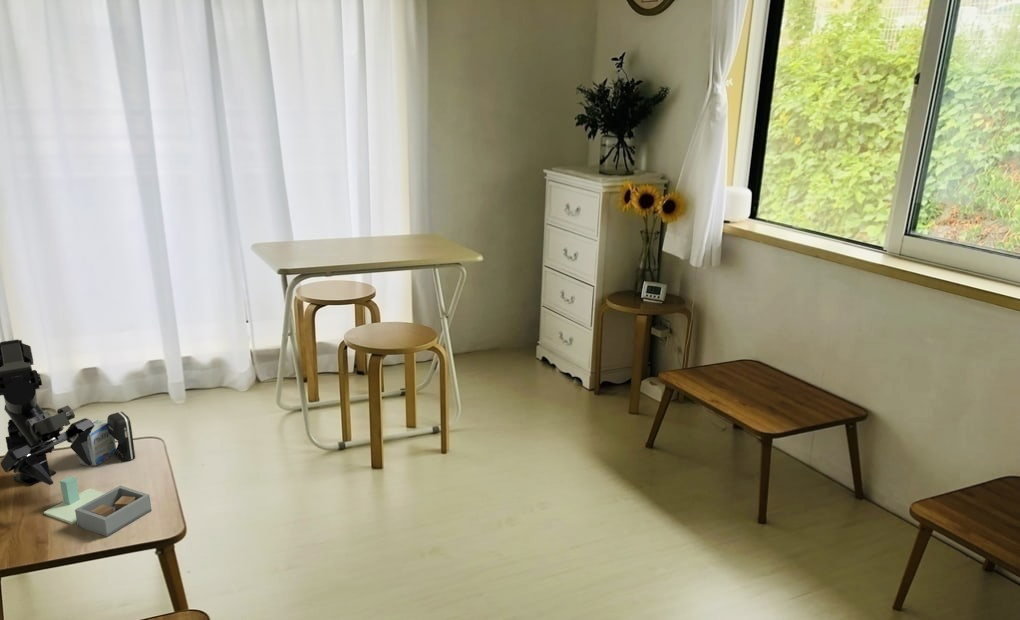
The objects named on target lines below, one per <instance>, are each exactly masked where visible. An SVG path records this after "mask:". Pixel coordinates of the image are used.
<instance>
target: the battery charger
mask: <svg viewBox="0 0 1020 620" xmlns="http://www.w3.org/2000/svg"><path fill="white" fill-rule="evenodd" d="M106 421H107V424H108V432H109V433H110V435H112V436H113V437H114V438H115V441H117V445H116V451H115V453H114V455H115V456H116V457H117V458H118V459H119V460H120V461H121V462H126V461H132V460H134V459H135V458H136V453H135V444H134V437H133V436H134V435H133V431H132V430H133V429H132V423H131V420H130V417H129V416H128V415H127V414H125V412H123V411H117V412H115V413H111V414H109V415H108V416H107V419H106Z"/></svg>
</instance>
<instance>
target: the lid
mask: <svg viewBox="0 0 1020 620" xmlns="http://www.w3.org/2000/svg"><path fill="white" fill-rule="evenodd" d="M59 484H60V489H61V495H62V500H63V501H62V502H61V503H58V504H56V505H54V506H52V507H50V508H48V509H47V510H45V511H43V514H44V515H45V514H46V516H48V517H51V518H53V519H56V520H59V521H62V522H65V523H68V524H70V525H74V524H76V523H77V519H76V513H75V509H77V508H79V507H81V506H83V505H85V504H86V503H88V502H90V501H92V500H94V499H96V498H98V497H100V496H101V495H103V494H105V492H102V491H99V490H96V489H93V488H90V487H89V488H87V489H85V490H83V491H81V492H79V486H78V480H77V477H74V476H71V475H69V476H67V477H65V478H63V479H60V481H59Z"/></svg>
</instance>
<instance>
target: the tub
mask: <svg viewBox="0 0 1020 620" xmlns="http://www.w3.org/2000/svg"><path fill="white" fill-rule="evenodd" d="M104 493H105V492H104ZM122 496H127V497H136V500H135V501H133V502H132V503H130V504H128V505H126V506H125V507H123V508H121V509H119V510H118V511H116V510H115V503H116V502H117V501H118V500H119V499H120V498H121V497H122ZM101 505H106V506H109V507H112V508H113V512H114V513H112V514H110V515H109V516H107V517H103V516H101V515H98V514H95V513H92V512H90V511H92V510H94V509H95V508H97V507H99V506H101ZM152 510H153V509H152V504H151V497H150V494H149V493H145V492H143V491H138V490H136V489H133V488H129V487H127V486H123V485H118V486H116V487H115V488H113V489H111V490H109V491H107V492H106V493H105V494H103V495H101V496H100V497H98V498H96V499H94V500H92V501H90V502H88V503H86V504H85V505H83V506H81V507H79V508H77V509H75V513H76V519H77V522H76V523H77V524H76V525H77V527H79V528H81V529H85V530H87V531H90V532H93V533H95V534H98V535H101V536H103V537H106V536H107V537H106V538H108V537H110V536H111V535H113V534H115V533H116V532H119V531H120V530H122V529H123V528H125V527H127V526H128V525H130V524H132V523H134V522H136V521H137V520H138V519H140V518H142V517H144V516H145V515H148V514H149V513H150V512H152ZM109 535H110V536H109Z"/></svg>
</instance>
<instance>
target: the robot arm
mask: <svg viewBox="0 0 1020 620" xmlns="http://www.w3.org/2000/svg"><path fill="white" fill-rule="evenodd" d="M32 365H34V358H33V352H32V348H31V346H30V345H28V344H27V343H26V344H25V343H23V341H22V339H11V340H5V341H0V397H1V396H3V398H4V411H5V413H6V414H7V415H8V417H9V418H10V419H9V420H8V422H7V424H8V426H7V434H8V436H5V442H6V448H7V451H6V453H5V454H4V456H3V457H2V459H1V460H0V465H1V466H0V467H1V468H2V470H3V471H4V472H5V473H6V474H7V473H10V472H13V473H14V474H17V473H18V474H17V475H16V476H13V477H12V479H13V480H12V481H16V482H19V483H20V484H21V483H22V484H25V485H27V486H33V485H35V484H38V483H40V482H42V483H45V484H47V485H49V486H52V485H53V484H54V481H53V479H52V478H51V476H53V475H56V473H57V471H56V470H54V469H50V467H49V461H48V458H47V454H51V453H53V452H52V451H53V450H55V446H57V445H59V444H63V443H64V442H67V443H69V444H70V446H69V447H70V448H71V450H72V451H73V452H74V453H75V454H76V455H77V456H78V458H79V457H80V458H81V459H82V461H83V462H84V463H85V464H87V465H86V466H88V467H91V466H93V465H92V461H91V457H90V453H89V449H88V442H87V438H88V435H89V434H90V433H91V430H92V429H93V427H94V426H95V425H94V424H93V422H92V420H91V419H89V418H86V417H85V418H82V419H80V420H77V421H75V422H72V423H71V422H70V420H73V419H75V418H76V417H75V416H76V415H75V413H74V411H73V409H72V408H71V407H70V406H69V404H67V405H65V406H63V407H60V408H57V413H56V414H54V415H52V414H51V413H50V412H49V411H47V412H44V410H43V409H42V408H41V407H40V405H39V404H38V399H37V398H38V397H37V390H38V389H40V386H43V382H42V378H41V375H40V373H38V371H37V369H33V368H32ZM67 426H68V428H67V429H66V431H64V432H62V431H63V430H64V429H65V428H64V427H67ZM61 432H62V433H61Z"/></svg>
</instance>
